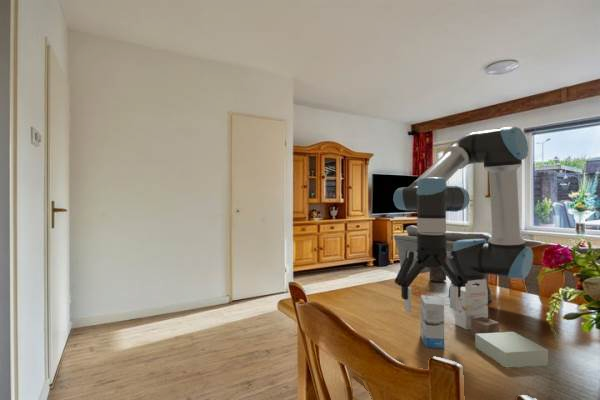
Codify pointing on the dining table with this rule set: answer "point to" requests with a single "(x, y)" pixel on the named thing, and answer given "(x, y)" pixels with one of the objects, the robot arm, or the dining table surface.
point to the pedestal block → (511, 349)
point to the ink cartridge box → (472, 303)
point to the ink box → (432, 321)
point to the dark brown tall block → (437, 273)
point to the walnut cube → (483, 326)
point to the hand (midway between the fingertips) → (431, 310)
